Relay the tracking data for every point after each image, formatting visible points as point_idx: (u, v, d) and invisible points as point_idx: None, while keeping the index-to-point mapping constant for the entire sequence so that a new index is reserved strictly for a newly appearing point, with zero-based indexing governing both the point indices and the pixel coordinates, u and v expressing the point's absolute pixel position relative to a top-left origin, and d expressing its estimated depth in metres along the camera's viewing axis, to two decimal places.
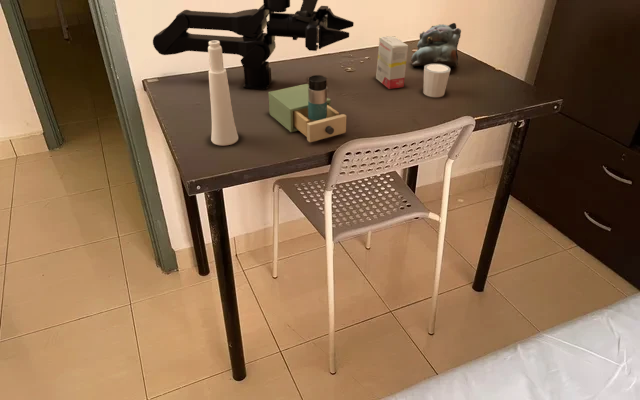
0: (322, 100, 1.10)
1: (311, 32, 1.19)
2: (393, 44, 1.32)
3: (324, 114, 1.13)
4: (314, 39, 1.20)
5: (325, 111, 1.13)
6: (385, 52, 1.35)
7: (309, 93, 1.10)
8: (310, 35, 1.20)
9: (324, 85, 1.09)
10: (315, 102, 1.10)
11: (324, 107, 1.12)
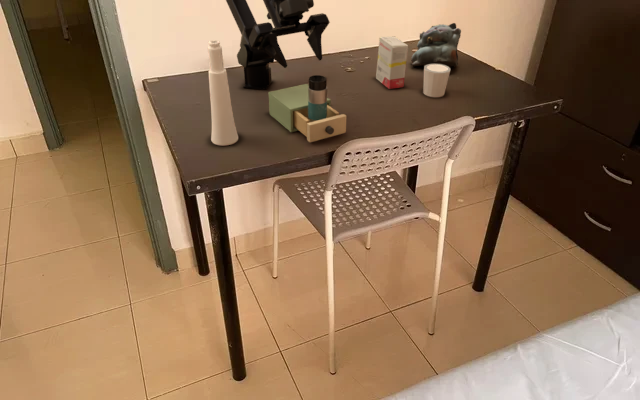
0: (322, 100, 1.10)
1: (254, 33, 1.10)
2: (393, 44, 1.32)
3: (324, 114, 1.13)
4: (253, 40, 1.11)
5: (325, 111, 1.13)
6: (385, 52, 1.35)
7: (309, 93, 1.10)
8: (253, 33, 1.11)
9: (324, 85, 1.09)
10: (315, 102, 1.10)
11: (324, 107, 1.12)
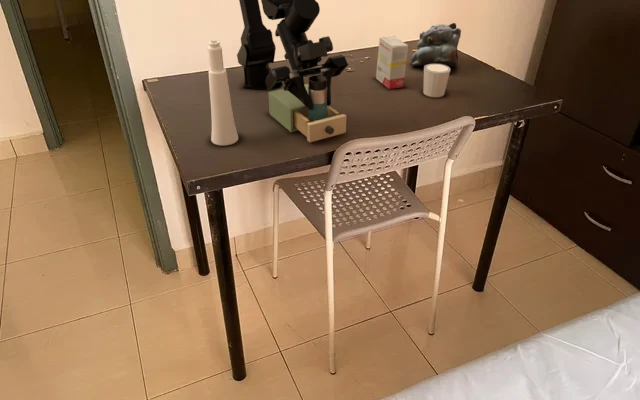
0: (322, 100, 1.10)
1: (271, 77, 1.07)
2: (393, 44, 1.32)
3: (324, 114, 1.13)
4: (270, 83, 1.09)
5: (325, 111, 1.13)
6: (385, 52, 1.35)
7: (309, 93, 1.10)
8: (270, 77, 1.08)
9: (324, 85, 1.09)
10: (315, 102, 1.10)
11: (324, 107, 1.12)
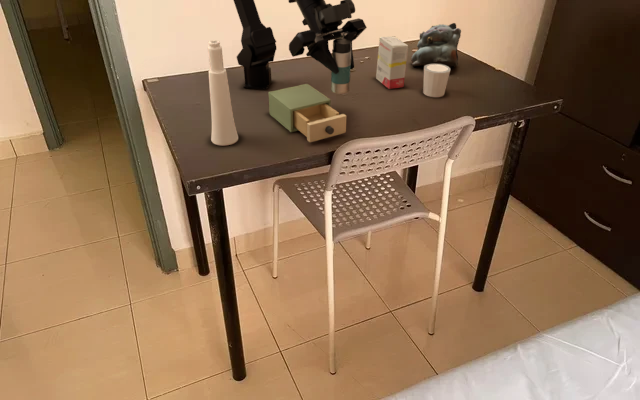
0: (347, 63, 1.11)
1: (297, 41, 1.06)
2: (393, 44, 1.32)
3: (348, 77, 1.13)
4: (295, 48, 1.08)
5: (349, 74, 1.13)
6: (385, 52, 1.35)
7: (334, 56, 1.10)
8: (295, 42, 1.07)
9: (349, 47, 1.09)
10: (340, 65, 1.10)
11: (349, 70, 1.12)
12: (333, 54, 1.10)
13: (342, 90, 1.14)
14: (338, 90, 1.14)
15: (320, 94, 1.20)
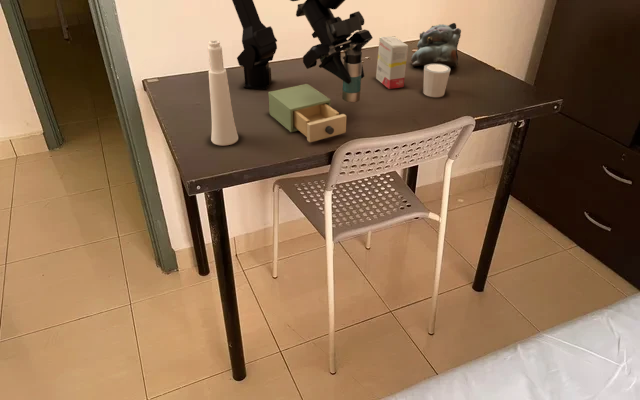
0: (359, 73, 1.16)
1: (313, 54, 1.11)
2: (393, 44, 1.32)
3: (359, 86, 1.18)
4: (311, 61, 1.12)
5: (360, 83, 1.18)
6: (385, 52, 1.35)
7: (346, 67, 1.15)
8: (311, 55, 1.11)
9: (361, 58, 1.14)
10: (353, 75, 1.16)
11: (360, 79, 1.17)
12: (345, 65, 1.15)
13: (353, 98, 1.19)
14: (350, 99, 1.19)
15: (320, 94, 1.20)
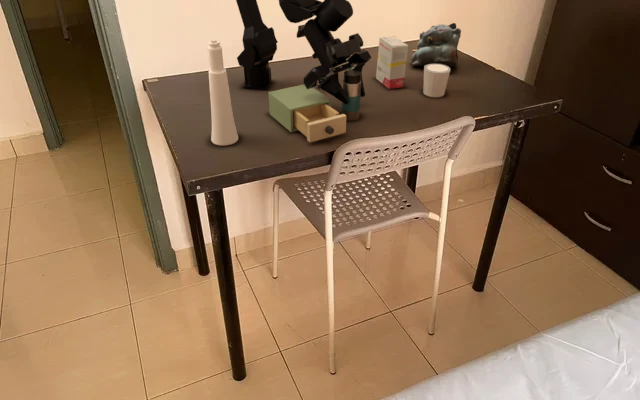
0: (358, 92, 1.19)
1: (313, 76, 1.13)
2: (393, 44, 1.32)
3: (359, 105, 1.21)
4: (311, 82, 1.15)
5: (359, 102, 1.21)
6: (385, 52, 1.35)
7: (346, 87, 1.18)
8: (311, 76, 1.14)
9: (360, 78, 1.17)
10: (352, 95, 1.18)
11: (359, 99, 1.20)
12: (345, 85, 1.18)
13: (353, 117, 1.22)
14: (349, 117, 1.22)
15: (320, 94, 1.20)
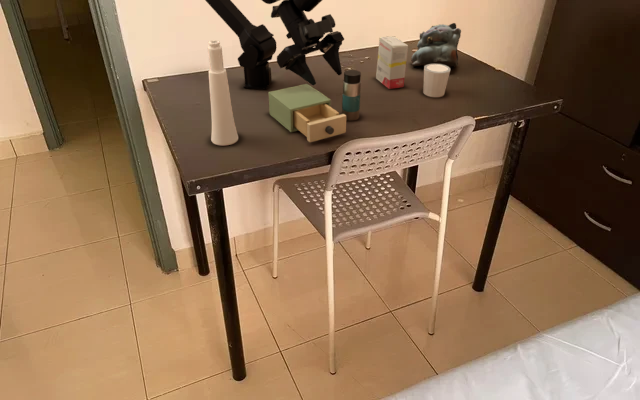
0: (358, 92, 1.19)
1: (285, 55, 1.17)
2: (393, 44, 1.32)
3: (359, 105, 1.21)
4: (284, 61, 1.18)
5: (359, 102, 1.21)
6: (385, 52, 1.35)
7: (346, 87, 1.18)
8: (284, 55, 1.17)
9: (360, 78, 1.17)
10: (352, 95, 1.18)
11: (359, 99, 1.20)
12: (345, 85, 1.18)
13: (353, 117, 1.22)
14: (349, 117, 1.22)
15: (320, 94, 1.20)
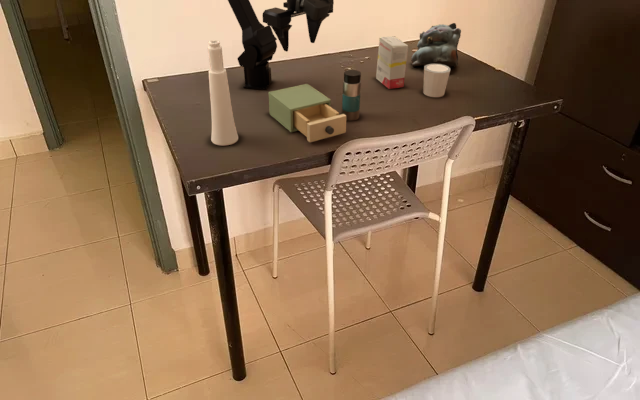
0: (358, 92, 1.19)
1: (273, 20, 1.15)
2: (393, 44, 1.32)
3: (359, 105, 1.21)
4: (269, 22, 1.17)
5: (359, 102, 1.21)
6: (385, 52, 1.35)
7: (346, 87, 1.18)
8: (272, 19, 1.15)
9: (360, 78, 1.17)
10: (352, 95, 1.18)
11: (359, 99, 1.20)
12: (345, 85, 1.18)
13: (353, 117, 1.22)
14: (349, 117, 1.22)
15: (320, 94, 1.20)
